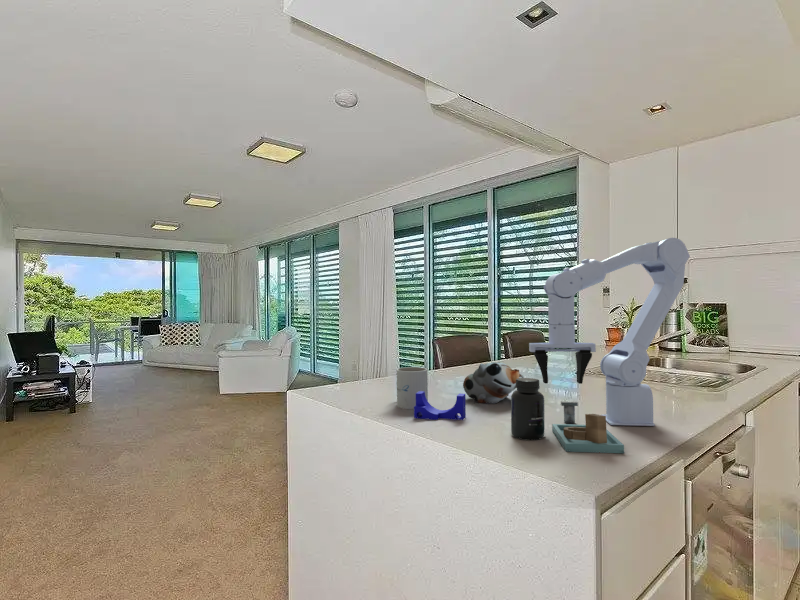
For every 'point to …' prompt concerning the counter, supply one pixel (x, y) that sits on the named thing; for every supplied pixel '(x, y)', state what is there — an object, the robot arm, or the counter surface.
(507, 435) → the counter surface
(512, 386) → the lucky cat figurine
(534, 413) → the supplement bottle
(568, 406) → the grey cylinder and bar
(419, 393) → the blue curved cradle
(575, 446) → the tray
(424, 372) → the mug
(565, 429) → the ring
